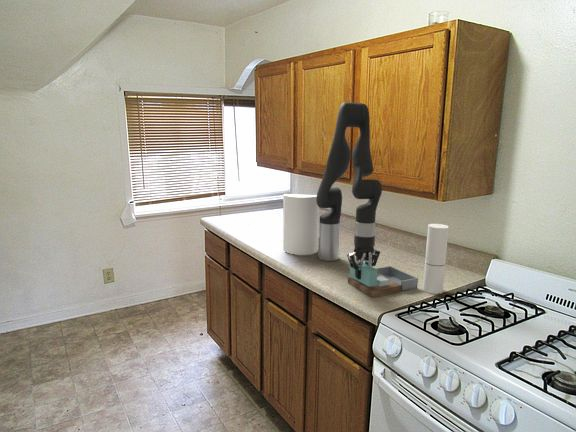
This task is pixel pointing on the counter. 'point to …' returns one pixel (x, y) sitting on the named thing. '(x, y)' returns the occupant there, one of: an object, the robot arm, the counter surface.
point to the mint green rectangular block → (366, 275)
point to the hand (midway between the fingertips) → (362, 277)
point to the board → (376, 287)
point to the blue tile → (382, 281)
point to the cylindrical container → (435, 258)
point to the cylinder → (300, 224)
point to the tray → (398, 277)
